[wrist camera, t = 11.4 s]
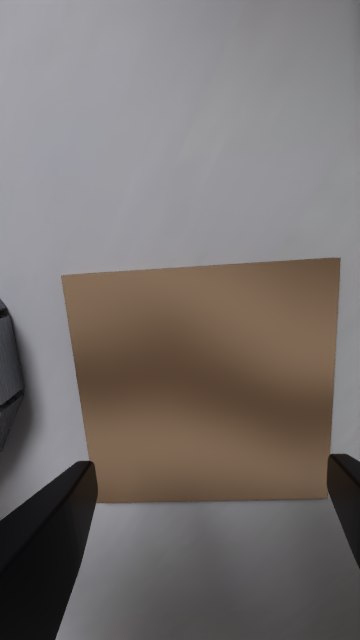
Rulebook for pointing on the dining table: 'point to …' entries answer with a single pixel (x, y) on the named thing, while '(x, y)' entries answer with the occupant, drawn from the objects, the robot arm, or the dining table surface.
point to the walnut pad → (207, 379)
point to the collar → (8, 376)
